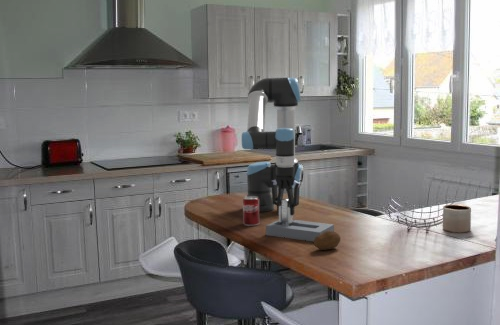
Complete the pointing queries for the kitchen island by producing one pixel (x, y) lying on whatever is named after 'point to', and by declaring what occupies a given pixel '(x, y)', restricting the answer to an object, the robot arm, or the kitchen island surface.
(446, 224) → the planter
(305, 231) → the keyhole board
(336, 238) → the potato
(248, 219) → the soda can
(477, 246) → the kitchen island surface
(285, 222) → the peg
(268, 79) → the robot arm
